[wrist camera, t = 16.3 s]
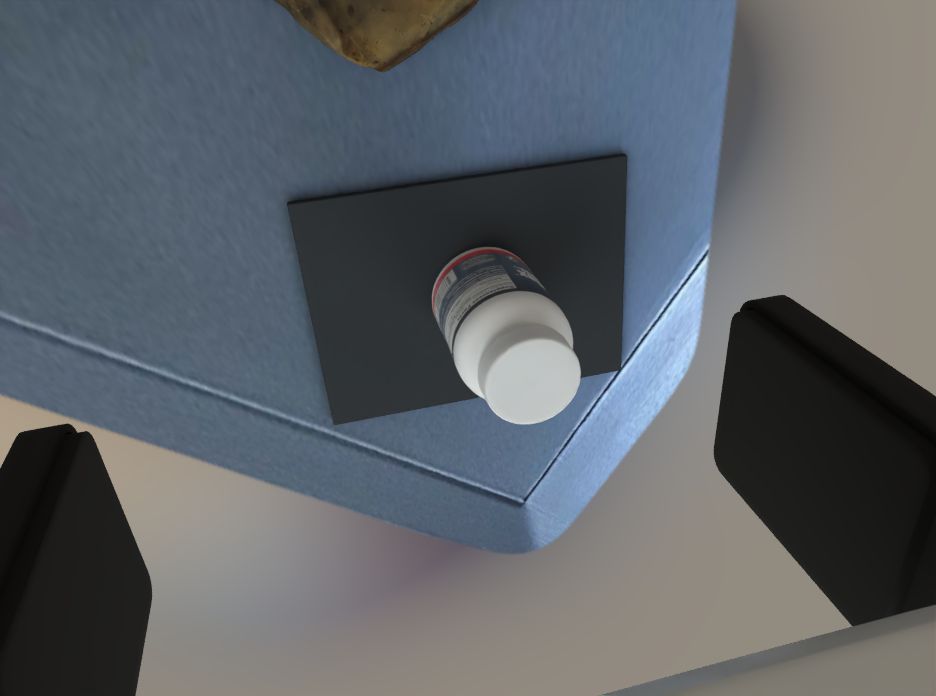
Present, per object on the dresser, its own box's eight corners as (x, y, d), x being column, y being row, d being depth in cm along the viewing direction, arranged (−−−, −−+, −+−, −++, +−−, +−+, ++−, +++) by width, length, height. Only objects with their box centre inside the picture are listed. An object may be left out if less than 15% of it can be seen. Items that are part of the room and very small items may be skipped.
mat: (333, 421, 38) (333, 425, 38) (287, 202, 32) (287, 204, 32) (618, 366, 40) (621, 370, 40) (624, 153, 34) (627, 155, 34)
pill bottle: (547, 309, 37) (615, 401, 30) (458, 357, 37) (503, 460, 30) (507, 224, 34) (570, 300, 27) (411, 276, 35) (447, 367, 27)
